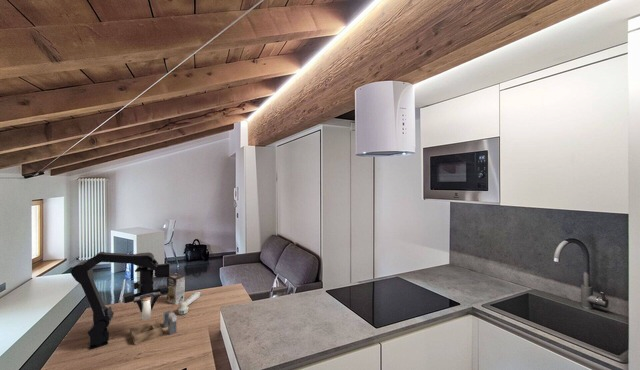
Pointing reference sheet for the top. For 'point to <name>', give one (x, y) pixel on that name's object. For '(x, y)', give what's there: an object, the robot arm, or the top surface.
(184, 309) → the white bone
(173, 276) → the coffee box
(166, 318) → the bolt mount
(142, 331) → the socket block
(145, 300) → the white cylinder
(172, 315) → the lock bolt
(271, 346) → the top surface
